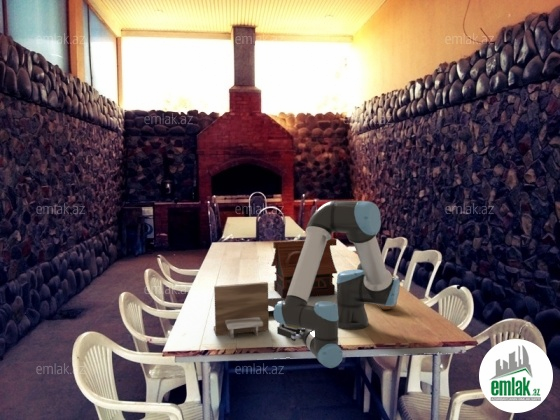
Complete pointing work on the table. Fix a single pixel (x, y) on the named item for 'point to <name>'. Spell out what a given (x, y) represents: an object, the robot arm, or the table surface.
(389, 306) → the onion
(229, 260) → the table surface
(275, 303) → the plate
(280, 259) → the house
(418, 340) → the table surface
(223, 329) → the cleat board
